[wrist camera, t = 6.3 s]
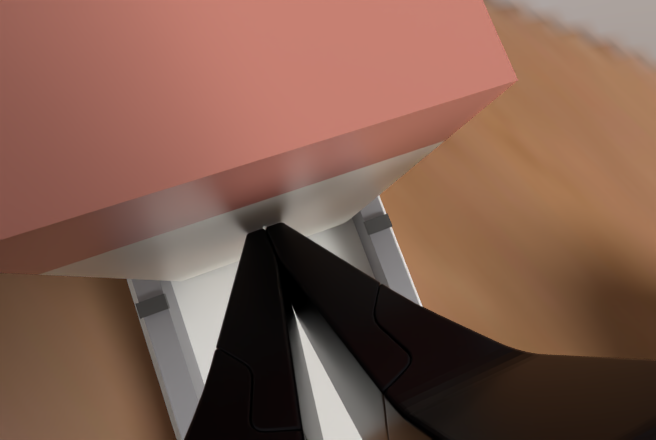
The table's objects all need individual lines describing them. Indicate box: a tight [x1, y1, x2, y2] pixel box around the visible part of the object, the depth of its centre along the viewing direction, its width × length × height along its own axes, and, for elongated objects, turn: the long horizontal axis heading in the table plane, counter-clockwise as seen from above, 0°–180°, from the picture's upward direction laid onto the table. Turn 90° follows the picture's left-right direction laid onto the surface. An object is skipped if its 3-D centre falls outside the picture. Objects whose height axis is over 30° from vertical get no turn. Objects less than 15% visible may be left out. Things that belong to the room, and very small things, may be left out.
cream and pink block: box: [0, 0, 518, 281], centre depth 10 cm, size 4×6×11 cm, turn 111°
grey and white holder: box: [127, 196, 423, 440], centre depth 13 cm, size 17×10×7 cm, turn 21°
